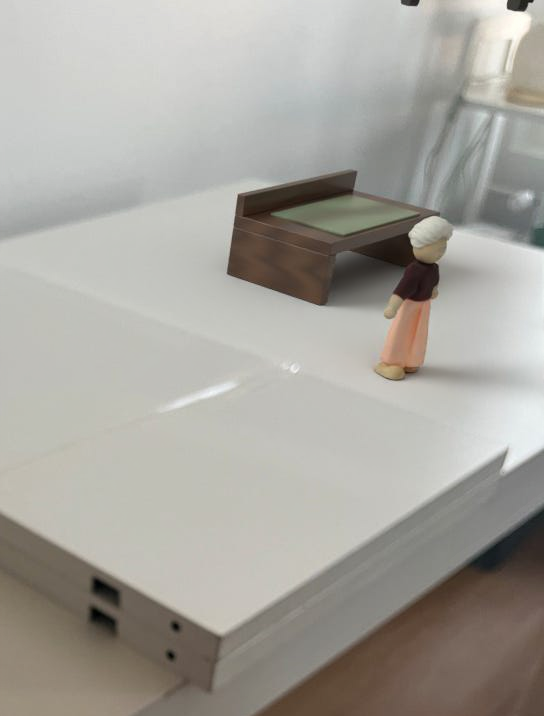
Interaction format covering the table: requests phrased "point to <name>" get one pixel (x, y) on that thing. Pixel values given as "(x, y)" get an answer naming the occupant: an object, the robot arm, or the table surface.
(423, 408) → the table surface
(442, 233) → the grandmother figurine
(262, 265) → the shelf
